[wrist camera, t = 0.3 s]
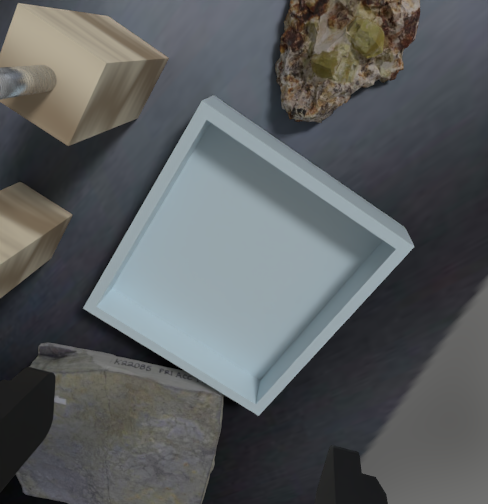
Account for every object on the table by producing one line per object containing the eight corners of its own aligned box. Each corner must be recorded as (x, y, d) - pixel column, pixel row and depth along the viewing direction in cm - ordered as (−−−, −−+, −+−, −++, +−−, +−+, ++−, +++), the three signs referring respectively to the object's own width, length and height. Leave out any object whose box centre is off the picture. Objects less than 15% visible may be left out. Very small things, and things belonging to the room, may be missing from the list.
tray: (213, 95, 31) (202, 100, 28) (405, 227, 33) (414, 246, 30) (102, 286, 38) (82, 308, 35) (263, 386, 40) (258, 415, 37)
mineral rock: (332, -105, 24) (460, -21, 23) (347, -75, 28) (458, -1, 27) (227, 80, 29) (329, 157, 28) (253, 84, 33) (343, 152, 32)
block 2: (108, 16, 30) (-65, -10, 16) (168, 58, 31) (50, 67, 17) (79, 79, 32) (-96, 104, 18) (137, 118, 32) (8, 170, 19)
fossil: (19, 327, 43) (26, 470, 49) (-12, 355, 39) (1, 507, 45) (232, 363, 42) (213, 504, 48) (224, 395, 38) (205, 546, 44)
